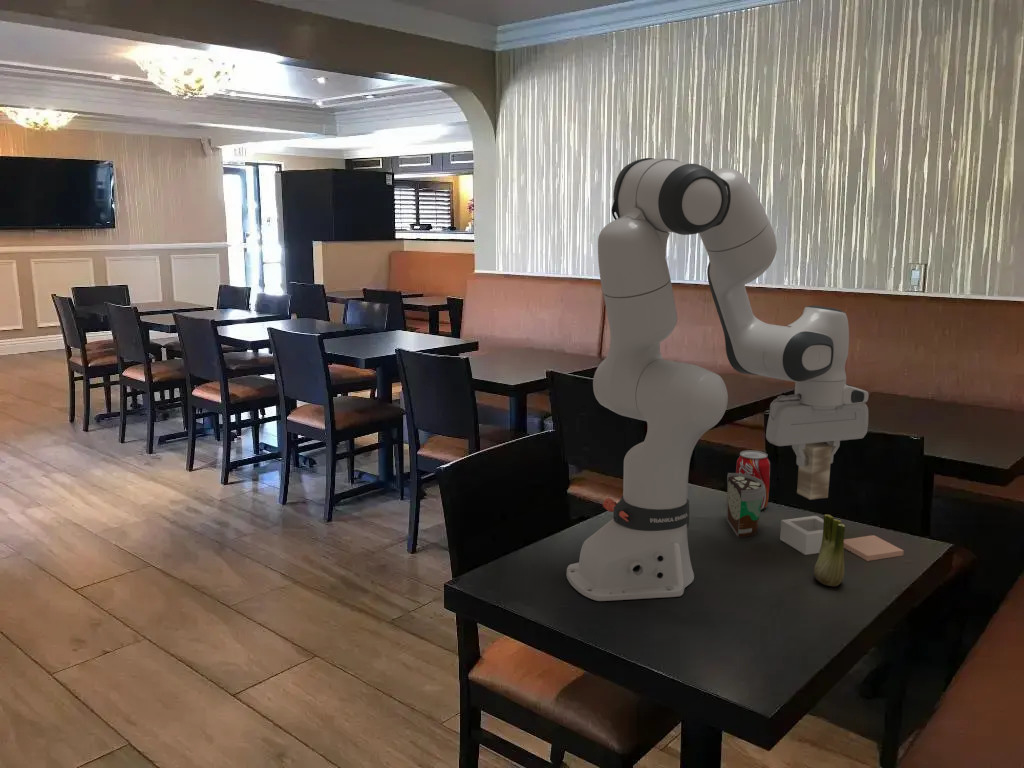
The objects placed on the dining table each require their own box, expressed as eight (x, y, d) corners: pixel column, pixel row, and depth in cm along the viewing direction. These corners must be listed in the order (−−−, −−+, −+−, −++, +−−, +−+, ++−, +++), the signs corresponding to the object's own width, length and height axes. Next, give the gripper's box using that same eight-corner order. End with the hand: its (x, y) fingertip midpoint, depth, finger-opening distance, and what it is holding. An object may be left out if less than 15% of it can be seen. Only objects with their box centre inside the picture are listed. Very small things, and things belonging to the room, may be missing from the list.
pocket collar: (805, 554, 160) (806, 534, 159) (780, 539, 167) (781, 520, 167) (841, 549, 162) (842, 529, 161) (814, 534, 170) (816, 515, 169)
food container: (771, 539, 167) (774, 491, 165) (740, 540, 168) (742, 491, 166) (754, 517, 180) (756, 471, 178) (725, 517, 180) (727, 472, 178)
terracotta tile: (867, 561, 157) (867, 555, 157) (838, 545, 164) (839, 540, 164) (903, 555, 159) (903, 550, 159) (873, 539, 167) (873, 535, 167)
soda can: (771, 512, 182) (774, 458, 180) (738, 512, 182) (741, 458, 180) (763, 501, 189) (765, 449, 187) (731, 501, 189) (733, 449, 187)
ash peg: (809, 499, 160) (813, 448, 158) (796, 493, 164) (800, 442, 162) (827, 497, 161) (831, 446, 159) (814, 491, 165) (818, 441, 163)
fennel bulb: (844, 591, 145) (849, 524, 142) (813, 588, 146) (818, 522, 144) (842, 577, 150) (847, 513, 148) (812, 574, 152) (816, 510, 149)
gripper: (781, 399, 153) (776, 473, 156) (876, 392, 159) (870, 464, 162) (761, 392, 159) (757, 464, 161) (853, 386, 165) (848, 455, 167)
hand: (814, 464), depth 162 cm, fingers closed on ash peg, 4 cm apart
